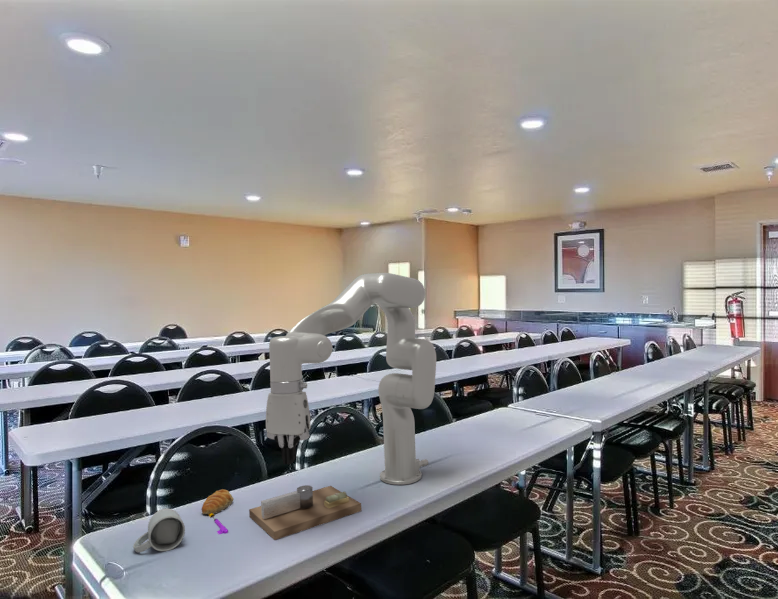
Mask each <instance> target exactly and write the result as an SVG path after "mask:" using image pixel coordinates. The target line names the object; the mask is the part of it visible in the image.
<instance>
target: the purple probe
mask: <svg viewBox="0 0 778 599" xmlns="http://www.w3.org/2000/svg"><path fill="white" fill-rule="evenodd" d="M207 515H208V518H211V517H212V519H213V522H214V524H215V525H216V526H217V527H218V528H219V530H217V531H216V533H217V534H218V535H221V534H228V533H229V529H228V528H227V527H226V526H225V525H224V524H222V523H221V521H220V520H219V519H218V518H215V514H213V513H210V514H207Z"/></svg>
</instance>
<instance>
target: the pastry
mask: <svg viewBox="0 0 778 599" xmlns="http://www.w3.org/2000/svg"><path fill="white" fill-rule="evenodd" d="M233 502H234V496H233V495H232V494H231V492H230V491H229V490H227V489H223V488H222V489H219V490H216V491H215V492H213V493H212V494H211V495H208V497H206V499H205V500H204V502H203V503H202V507H201V514H202V515H208V514H210V513H213V514H214V515H215V514H218V513H219V512H222V511H224V510H226V509H228V508H229V507H230V506H231V505H232V504H233Z"/></svg>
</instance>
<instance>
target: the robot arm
mask: <svg viewBox="0 0 778 599" xmlns="http://www.w3.org/2000/svg"><path fill="white" fill-rule="evenodd" d="M425 299H426V289H425V287H424V285H423V283H422V282H421V281H420V280H418V279H417V278H413V277H409V276H404V275H399V274H396V273H390V272H378V273H377V272H375V273H365V274H364V273H363V274H361V275H358V276H357V277H356V278H354V279H353V281H352V282H350V284H348V285H347V287H345V289H343V290H342V291H341V293H339V295H337V296H336V297H335V298H334V299H333V300H332V301H331V302H330V303H328V304H327V305H325V306H322V307H321V308H319V309H317V310H315V311H314V312H311V313H310V314H309V315H306V316H305V317H304V318H302V319H301V320H300V321H298V322H297V323H296V324H295V325H294V326H293V327H292V328H291V329H290V330H289V331H288V332H287V333H286V335H281V336H274V337H272V338H271V339H270V340H269V346H268V349H269V376H270V378H269V379H270V380H269V381H270V383H269V385H270V392H269V393H268V395H267V401H266V409H265V429H266V432H267V433H266V437H267V438H268V439H270V440H274V441H275V442H276V443H277V444H278V446H279V448H281V460H282V464H283V465H289V466H290V465H291V464H293V463H294V462H295V460H296V457H297V456H296V455H297V452H296V449H297V448H296V446H297V445H298V444H299V442H300V441H306V440H308V439H309V438H311V437H310V432H309V431H310V430H311V426H312V425H311V424H312V423H311V413H310V405H309V401H308V400H309V399H308V396H307V391H304V389H307V388H308V383H307V382H304V379H303V375H302V374H303V371H302V370H303V369H302V368H303V366H302V365H303V364H315V365H316V364H322V363H324V362H326V361H327V360H328V359H329V358H330V357H331V356H332V353H333V344H332V341H331V340H330V338H329V337H327V335H328V334H331V333H336V332H339V331H343V330H345V329H347V328H350V327H352V326H353V325H355V324H356V323H357V322H358V320H360V318H362V316H364V314H365V313H366V312H367V311H368V310H369V309H370V307H371V306H372V305H375V304H377V305H378V306H379V308H380V309H381V310H382V312H383V313H384V315H385V317H386V320H387V321H386V322H387V332H386V333H387V335H386V336H387V337H386V346H385V347H386V348H385V358H386V359H385V360H386V363H387V365H388V366H389V367H391V368H394V369H398V370H405V371H411V374H407V373H394V372H393V373H389V374H385V375H384V376H383V377H382V378H381V380H380V381H379V384H378V388H377V389H378V397H379V401H380V405H381V412H382V426H383V429H382V430H383V449H384V450H383V452H384V453H383V454H384V455H383V456H384V457H383V458H384V470H382V471H381V472H380V473H379V478H380V481H382V483H383V482H384V483H386V484H390V485H394V486H395V485H399V486H401V485H409V484H410V485H411V484H414V483H417V482H418V481H420V480H421V478H422V476H423V475H422V472H421V470H420V469H421V468H423V467H426V466H427V467H428V466H429V461H428V459H427V458H424V459H422V460H420V459H419V458H417V455H416V454H417V453H416V452H417V451H416V433H415V432H416V431H415V428H416V427H415V417H414V413H413V411H412V409H416V410H417V409H418V410H424V409H427V408H428V407H430V405H431V404H432V402H433V399H434V395H435V388H436V375H437V374H436V373H437V352H436V349H435V346H434V344H433V343H432V342H431V341H429V339H425V338H416V320H415V317H414V314H413V313H412V310H411V309H415V308H418V307H419V306H421V305H422V304H423V303H424V300H425ZM416 458H417V459H416Z"/></svg>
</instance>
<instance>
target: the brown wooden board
mask: <svg viewBox="0 0 778 599" xmlns="http://www.w3.org/2000/svg"><path fill="white" fill-rule="evenodd" d="M248 512H249V514H248V515H249V518H250V519H251V520H252V521H253V522H254V523H255V524H257V526H258V527H260V528H261V529H262V530H263V531H264V532H265V533H266V534H268V535H269V537H270V538H272V539H273V540H274V541H277V540H279V539H283V538H286V537H288V536H291V535H294V534H297V533H300V532H304V531H306V530H310V529H312V528H315V527H317V526H321V525H324V524H327V523H330V522H333V521H335V520H339V519H341V518H345V517H348V516H350V515H351V516H352V515H354V514H357V513H359V512H360V513H361V512H362V502H360V501H358V500H356V499H354V498H352V497H351V496H349V495H348V494H347V492H346V491H341V490H339V489H337V488H336V487H333V486H332V485H329V486H326V487H321V488H318V489H315V490H314V489H313V506H312V507H309V508H304V509H303V508H299V509H296V510H293V511H290V512H286V513H283V514H280V515H277V516H273V517H270V518H267V519H263V518H262V510H261V505H259V506H256V507H253V508H249V509H248Z"/></svg>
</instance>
